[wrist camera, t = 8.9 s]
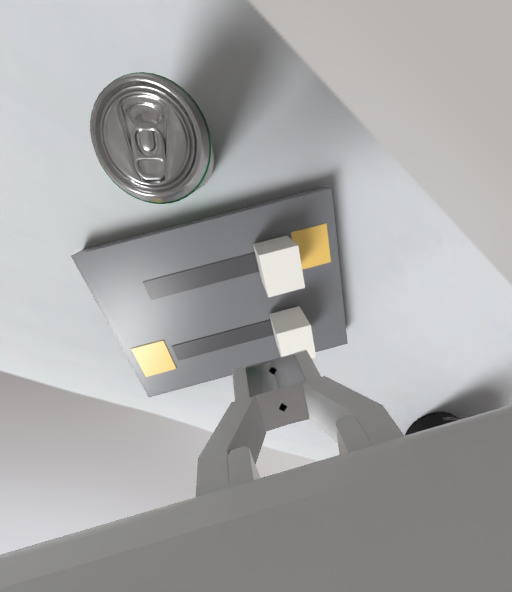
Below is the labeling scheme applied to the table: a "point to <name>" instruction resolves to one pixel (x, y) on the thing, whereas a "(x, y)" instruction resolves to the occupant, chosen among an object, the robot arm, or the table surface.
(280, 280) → the block
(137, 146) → the soda can
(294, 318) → the block
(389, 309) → the table surface
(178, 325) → the switch panel
